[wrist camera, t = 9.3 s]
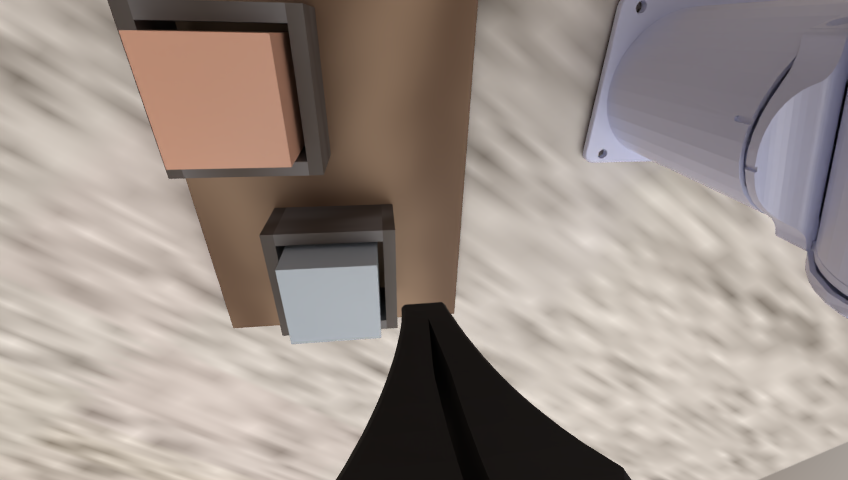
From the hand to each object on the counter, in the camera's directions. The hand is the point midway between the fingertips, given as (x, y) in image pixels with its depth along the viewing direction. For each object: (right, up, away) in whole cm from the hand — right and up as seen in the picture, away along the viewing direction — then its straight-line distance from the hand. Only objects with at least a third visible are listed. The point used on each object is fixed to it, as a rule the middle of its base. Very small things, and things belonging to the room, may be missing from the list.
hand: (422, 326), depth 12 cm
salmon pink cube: (-8, +9, +3) cm, 12 cm away
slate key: (-5, +1, +8) cm, 10 cm away
